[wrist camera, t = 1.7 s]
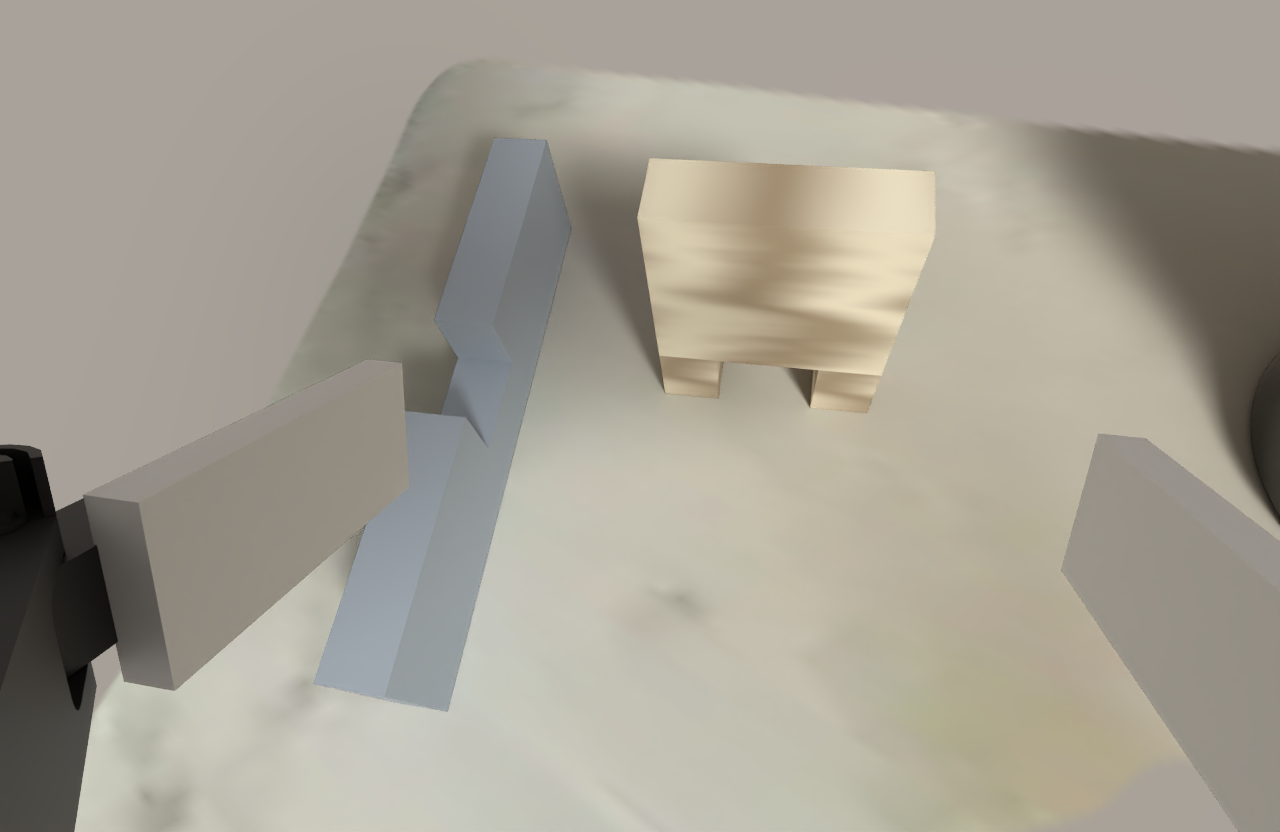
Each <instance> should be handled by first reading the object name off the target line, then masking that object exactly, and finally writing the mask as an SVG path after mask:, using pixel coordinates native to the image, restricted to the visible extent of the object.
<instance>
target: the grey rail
mask: <svg viewBox="0 0 1280 832" xmlns="http://www.w3.org/2000/svg"><path fill="white" fill-rule="evenodd" d="M570 231H571V224H570V221H569V217H568V214H567V210H566V207H565V203H564V199H563V196H562V192H561V189H560V185H559V182H558V178H557V175H556V171H555V168H554V164H553V160H552V157H551V153H550V150H549V146H548V143H547V140H536V139H513V138H494V140H493V143H492V146H491V149H490V153H489V156H488V159H487V162H486V165H485V168H484V171H483V174H482V177H481V180H480V183H479V186H478V189H477V192H476V195H475V198H474V201H473V204H472V207H471V210H470V213H469V216H468V219H467V222H466V225H465V228H464V231H463V234H462V237H461V240H460V243H459V246H458V249H457V252H456V255H455V258H454V261H453V264H452V267H451V270H450V273H449V276H448V279H447V282H446V285H445V288H444V291H443V294H442V297H441V300H440V303H439V306H438V309H437V312H436V315H435V318H434V321H435V322H436V324H437V326H438V327H439V329H440V330H441V332H442V333H443V335H444V337H445V338H446V340H447V341H448V343H449V344H450V346H451V348H452V349H453V351H454V352H455V354H456V355H457V357H458V359H457V362H456V366H455V369H454V372H453V375H452V379H451V382H450V385H449V388H448V392H447V395H446V398H445V401H444V405H443V408H442V411H441V414H440V415H439V414H430V413H420V412H411V411H405V419H406V436H407V453H408V470H409V487H408V488H407V489H406V490H405V491H404V492H402V493H401V494H400V495H399V496H398V497H397V498H396V499H394V500H393V501H392V502H391V503H390V504H389V505H387V506H386V507H385V508H384V509H383V510H382V511H381V512H379V513H378V514H377V515H376V516H375V517H374V518H373V519H371V520H370V521H369V522H368V523H367V524H366V526H365V529H364V532H363V535H362V538H361V541H360V544H359V547H358V550H357V553H356V556H355V559H354V562H353V565H352V568H351V572H350V575H349V578H348V581H347V584H346V587H345V590H344V593H343V596H342V599H341V602H340V605H339V608H338V611H337V614H336V617H335V620H334V623H333V626H332V629H331V632H330V635H329V638H328V641H327V644H326V647H325V650H324V653H323V656H322V659H321V662H320V665H319V668H318V671H317V674H316V677H315V680H314V683H313V684H316V685H320V686H324V687H329V688H333V689H338V690H342V691H346V692H351V693H355V694H360V695H364V696H368V697H373V698H377V699H382V700H386V701H391V702H397V703H402V704H408V705H413V706H419V707H425V708H430V709H436V710H441V711H447V712H448V708H449V704H450V700H451V696H452V692H453V688H454V684H455V680H456V676H457V673H458V669H459V665H460V661H461V657H462V653H463V649H464V645H465V641H466V637H467V634H468V630H469V626H470V622H471V618H472V614H473V610H474V606H475V602H476V598H477V594H478V591H479V587H480V583H481V579H482V575H483V571H484V567H485V563H486V559H487V555H488V551H489V548H490V544H491V540H492V536H493V532H494V528H495V524H496V520H497V516H498V512H499V509H500V505H501V501H502V497H503V493H504V489H505V485H506V481H507V477H508V473H509V469H510V466H511V462H512V458H513V454H514V450H515V446H516V442H517V438H518V434H519V430H520V426H521V423H522V419H523V415H524V411H525V407H526V403H527V399H528V395H529V391H530V387H531V384H532V380H533V376H534V372H535V368H536V364H537V360H538V356H539V352H540V348H541V344H542V341H543V337H544V333H545V329H546V325H547V321H548V317H549V313H550V309H551V305H552V301H553V298H554V294H555V290H556V286H557V282H558V278H559V274H560V270H561V266H562V262H563V259H564V255H565V251H566V247H567V243H568V239H569V235H570Z"/></svg>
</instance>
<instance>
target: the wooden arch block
mask: <svg viewBox="0 0 1280 832" xmlns="http://www.w3.org/2000/svg"><path fill="white" fill-rule="evenodd" d="M637 219H638V226H639V232H640V238H641V244H642V251H643V257H644V263H645V269H646V276H647V282H648V288H649V295H650V301H651V307H652V313H653V320H654V326H655V332H656V338H657V345H658V351H659V357H660V363H661V370H662V376H663V382H664V389H665V393H669V394H679V395H689V396H699V397H709V398H718V397H719V390H720V383H721V375H722V368H723V361H724V362H735V363H745V364H756V365H767V366H778V367H789V368H800V369H811V370H813V377H812V390H811V403H810V408H820V409H830V410H840V411H850V412H860V413H867V411H868V409H869V406H870V404H871V401H872V398H873V396H874V393H875V391H876V388H877V385H878V383H879V380H880V378H881V375H882V373H883V370H884V367H885V365H886V362H887V360H888V357H889V354H890V352H891V349H892V347H893V344H894V341H895V339H896V336H897V334H898V331H899V328H900V326H901V323H902V321H903V318H904V315H905V313H906V310H907V308H908V305H909V302H910V300H911V297H912V295H913V292H914V289H915V287H916V284H917V282H918V279H919V276H920V274H921V271H922V269H923V266H924V263H925V261H926V258H927V256H928V253H929V250H930V248H931V245H932V243H933V240H934V238H935V172H934V171H912V170H891V169H870V168H848V167H827V166H806V165H784V164H763V163H742V162H720V161H699V160H678V159H656V158H650V159H649V164H648V169H647V174H646V178H645V183H644V188H643V193H642V197H641V202H640V207H639V211H638V216H637Z"/></svg>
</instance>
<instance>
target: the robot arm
mask: <svg viewBox="0 0 1280 832" xmlns="http://www.w3.org/2000/svg"><path fill="white" fill-rule="evenodd" d="M1251 435H1252V445H1253V450H1254V456H1255V460H1256V463H1257V467H1258V471H1259V473H1260V476H1261V479H1262V482H1263V484H1264V486H1265V489H1266V491H1267V493H1268V495H1269V497H1270V499H1271V501H1272V503H1273V505H1274V507H1275V509H1276V510H1277V512H1278V514H1279V515H1280V353H1279V354H1278V355H1277V356H1276V357H1275V358H1274V360H1273V361H1272V362H1271V364H1270V365H1269V366H1268V368H1267V370H1266V371H1265V373H1264V375H1263V376H1262V379H1261V381H1260V383H1259V385H1258V388H1257V391H1256V394H1255V398H1254V402H1253V407H1252V416H1251ZM408 487H409V470H408V453H407V436H406V419H405V402H404V384H403V367H402V363H400V362H390V361H380V360H371V359H367V360H364V361H362V362H360V363H358V364H356V365H354V366H352V367H350V368H348V369H346V370H344V371H341V372H339V373H337V374H335V375H333V376H331V377H329V378H327V379H325V380H323V381H320V382H318V383H316V384H314V385H312V386H310V387H308V388H306V389H304V390H302V391H300V392H297V393H295V394H293V395H291V396H289V397H287V398H285V399H283V400H281V401H279V402H276V403H274V404H272V405H270V406H268V407H266V408H264V409H262V410H260V411H258V412H256V413H253V414H251V415H249V416H247V417H245V418H243V419H241V420H239V421H237V422H235V423H232V424H230V425H228V426H226V427H224V428H222V429H220V430H218V431H216V432H214V433H212V434H209V435H207V436H205V437H203V438H201V439H199V440H197V441H195V442H193V443H191V444H189V445H186V446H184V447H182V448H180V449H178V450H176V451H174V452H172V453H170V454H167V455H165V456H163V457H162V458H159V459H157V460H155V461H153V462H151V463H149V464H147V465H144V466H142V467H140V468H138V469H136V470H134V471H132V472H130V473H128V474H126V475H123V476H122V477H119V478H117V479H115V480H113V481H111V482H109V483H107V484H105V485H103V486H100V487H99V488H97V489H94V490H92V491H90V492H88V493H86V494H84V495H83V497H84V498H83V499H81V500H79V501H77V502H75V503H73V504H71V505H68V506H66V507H64V508H62V509H60V510H58V511H55V507H54V503H53V499H52V494H51V490H50V486H49V482H48V477H47V473H46V469H45V464H44V460H43V456H42V453H41V450H39V449H36V448H34V447H31V446H23V445H0V832H74V830H75V823H76V817H77V810H78V804H79V797H80V791H81V784H82V777H83V771H84V764H85V758H86V751H87V745H88V738H89V732H90V725H91V719H92V712H93V706H94V699H95V693H96V686H97V685H96V681H95V677H94V673H93V668H92V664H91V661H92V660H93V659H95V658H96V657H97V656H99V655H100V654H102V653H103V652H104V651H106V650H107V649H109V648H110V647H111V646H113V645H114V644H115V643H116V647H117V651H118V656H119V661H120V665H121V670H122V674H123V679H124V682H129V683H135V684H140V685H146V686H151V687H157V688H162V689H168V690H173V691H175V690H176V689H177V688H179V687H180V686H181V685H182V684H183V683H184V682H185V681H187V680H188V679H189V678H190V677H191V676H192V675H194V674H195V673H196V672H197V671H198V670H199V669H200V668H202V667H203V666H204V665H205V664H206V663H207V662H208V661H210V660H211V659H212V658H213V657H214V656H215V655H216V654H218V653H219V652H220V651H221V650H222V649H223V648H225V647H226V646H227V645H228V644H229V643H230V642H231V641H233V640H234V639H235V638H236V637H237V636H238V635H239V634H241V633H242V632H243V631H244V630H245V629H246V628H247V627H249V626H250V625H251V624H252V623H253V622H254V621H256V620H257V619H258V618H259V617H260V616H261V615H262V614H264V613H265V612H266V611H267V610H268V609H269V608H270V607H272V606H273V605H274V604H275V603H276V602H277V601H278V600H280V599H281V598H282V597H283V596H284V595H285V594H286V593H288V592H289V591H290V590H291V589H292V588H293V587H295V586H296V585H297V584H298V583H299V582H300V581H301V580H303V579H304V578H305V577H306V576H307V575H308V574H309V573H311V572H312V571H313V570H314V569H315V568H316V567H317V566H319V565H320V564H321V563H322V562H323V561H324V560H326V559H327V558H328V557H329V556H330V555H331V554H332V553H334V552H335V551H336V550H337V549H338V548H339V547H340V546H342V545H343V544H344V543H345V542H346V541H347V540H348V539H350V538H351V537H352V536H353V535H354V534H355V533H356V532H358V531H359V530H360V529H361V528H362V527H363V526H365V525H366V524H367V523H368V522H369V521H370V520H371V519H373V518H374V517H375V516H376V515H377V514H378V513H379V512H381V511H382V510H383V509H384V508H385V507H386V506H387V505H389V504H390V503H391V502H392V501H393V500H394V499H396V498H397V497H398V496H399V495H400V494H401V493H402V492H404V491H405V490H406V489H407V488H408ZM1061 571H1062V572H1063V574H1064V575H1065V577H1066V578H1067V580H1068V581H1069V583H1070V584H1071V586H1072V587H1073V589H1074V590H1075V592H1076V593H1077V595H1078V596H1079V597H1080V599H1081V600H1082V602H1083V603H1084V605H1085V606H1086V608H1087V609H1088V611H1089V612H1090V614H1091V615H1092V617H1093V618H1094V620H1095V621H1096V623H1097V624H1098V626H1099V627H1100V628H1101V630H1102V631H1103V633H1104V634H1105V636H1106V637H1107V639H1108V640H1109V642H1110V643H1111V645H1112V646H1113V648H1114V649H1115V651H1116V652H1117V654H1118V655H1119V656H1120V658H1121V659H1122V661H1123V662H1124V664H1125V665H1126V667H1127V668H1128V670H1129V671H1130V673H1131V674H1132V676H1133V677H1134V679H1135V680H1136V682H1137V683H1138V684H1139V686H1140V687H1141V689H1142V690H1143V692H1144V693H1145V695H1146V696H1147V698H1148V699H1149V701H1150V702H1151V704H1152V705H1153V707H1154V708H1155V710H1156V711H1157V713H1158V714H1159V715H1160V717H1161V718H1162V720H1163V721H1164V723H1165V724H1166V726H1167V727H1168V729H1169V730H1170V732H1171V733H1172V735H1173V736H1174V738H1175V739H1176V741H1177V742H1178V743H1179V745H1180V746H1181V748H1182V749H1183V751H1184V752H1185V754H1186V755H1187V757H1188V758H1189V760H1190V761H1191V763H1192V764H1193V766H1194V767H1195V769H1196V770H1197V771H1198V773H1199V774H1200V776H1201V777H1202V779H1203V780H1204V782H1205V783H1206V785H1207V786H1208V788H1209V789H1210V791H1211V792H1212V794H1213V795H1214V797H1215V798H1216V800H1217V801H1218V802H1219V804H1220V805H1221V807H1222V808H1223V810H1224V811H1225V813H1226V814H1227V816H1228V817H1229V819H1230V820H1231V821H1232V823H1233V825H1234V826H1235V828H1236V829H1237V830H1238V832H1280V541H1279V540H1278V539H1276V538H1275V537H1274V536H1272V535H1271V534H1270V533H1268V532H1267V531H1266V530H1264V529H1263V528H1262V527H1261V526H1259V525H1258V524H1257V523H1255V522H1254V521H1253V520H1251V519H1250V518H1249V517H1248V516H1246V515H1245V514H1244V513H1242V512H1241V511H1240V510H1238V509H1237V508H1236V507H1234V506H1233V505H1232V504H1231V503H1229V502H1228V501H1227V500H1225V499H1224V498H1223V497H1221V496H1220V495H1219V494H1217V493H1216V492H1215V491H1214V490H1212V489H1211V488H1210V487H1208V486H1207V485H1206V484H1204V483H1203V482H1202V481H1201V480H1199V479H1198V478H1197V477H1195V476H1194V475H1193V474H1191V473H1190V472H1189V471H1187V470H1186V469H1185V468H1184V467H1182V466H1181V465H1180V464H1178V463H1177V462H1176V461H1174V460H1173V459H1172V458H1171V457H1169V456H1168V455H1167V454H1165V453H1164V452H1163V451H1161V450H1160V449H1159V448H1157V447H1156V446H1155V445H1154V444H1152V443H1151V442H1150V441H1148V440H1147V439H1146V438H1136V437H1126V436H1117V435H1107V434H1098V437H1097V441H1096V444H1095V448H1094V452H1093V455H1092V459H1091V463H1090V466H1089V470H1088V474H1087V477H1086V481H1085V485H1084V488H1083V492H1082V496H1081V499H1080V503H1079V507H1078V510H1077V514H1076V518H1075V521H1074V525H1073V528H1072V532H1071V536H1070V539H1069V543H1068V547H1067V550H1066V554H1065V558H1064V561H1063V565H1062V569H1061Z"/></svg>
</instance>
